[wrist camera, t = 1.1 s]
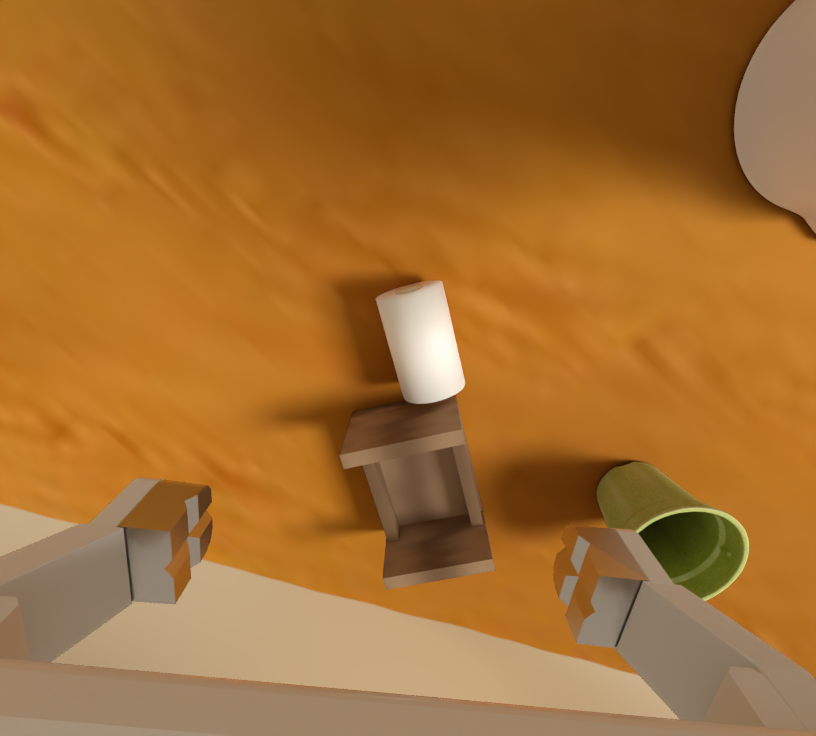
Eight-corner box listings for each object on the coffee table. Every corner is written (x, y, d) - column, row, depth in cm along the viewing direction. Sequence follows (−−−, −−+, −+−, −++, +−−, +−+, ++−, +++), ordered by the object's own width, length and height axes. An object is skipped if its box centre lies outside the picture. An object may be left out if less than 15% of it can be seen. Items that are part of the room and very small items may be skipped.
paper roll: (378, 289, 35) (371, 303, 30) (440, 273, 34) (443, 285, 30) (404, 385, 38) (402, 411, 33) (462, 372, 37) (468, 397, 32)
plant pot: (704, 465, 40) (778, 533, 31) (646, 543, 43) (699, 623, 35) (612, 429, 38) (663, 490, 30) (559, 511, 42) (593, 586, 34)
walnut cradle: (454, 389, 37) (462, 429, 31) (483, 512, 42) (495, 570, 35) (352, 412, 38) (339, 455, 32) (391, 530, 43) (386, 589, 36)
